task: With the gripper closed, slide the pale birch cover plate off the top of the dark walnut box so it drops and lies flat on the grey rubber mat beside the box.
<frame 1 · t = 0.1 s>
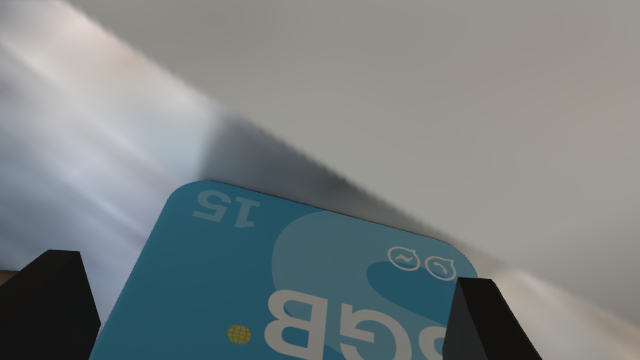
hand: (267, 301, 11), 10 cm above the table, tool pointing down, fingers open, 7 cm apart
data package: (316, 246, 24), on the table
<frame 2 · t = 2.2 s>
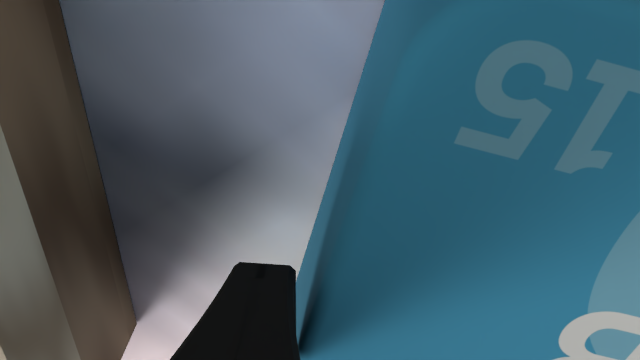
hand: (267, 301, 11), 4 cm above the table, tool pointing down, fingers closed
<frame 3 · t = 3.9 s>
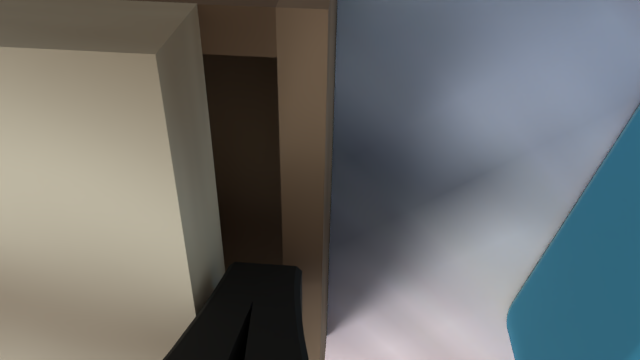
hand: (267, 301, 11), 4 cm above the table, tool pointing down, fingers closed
walnut box: (95, 177, 14), on the table
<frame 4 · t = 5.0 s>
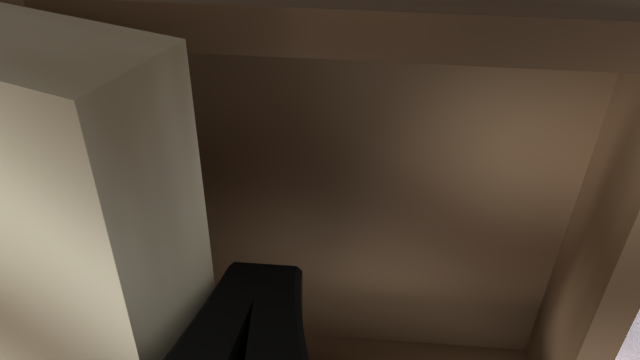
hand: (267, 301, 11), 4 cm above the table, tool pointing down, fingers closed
walnut box: (349, 191, 14), on the table
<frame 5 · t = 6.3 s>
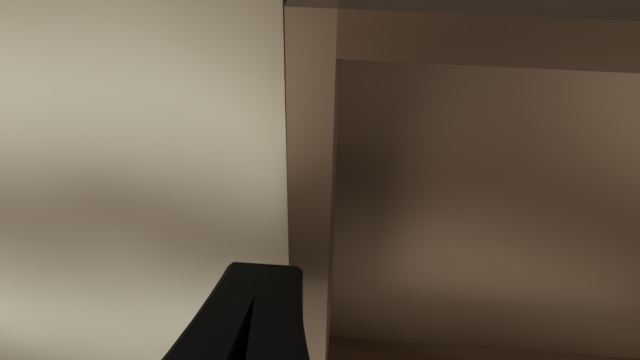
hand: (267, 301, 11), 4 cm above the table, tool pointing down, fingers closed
walnut box: (549, 203, 14), on the table
cover plate: (60, 181, 14), resting on rubber mat
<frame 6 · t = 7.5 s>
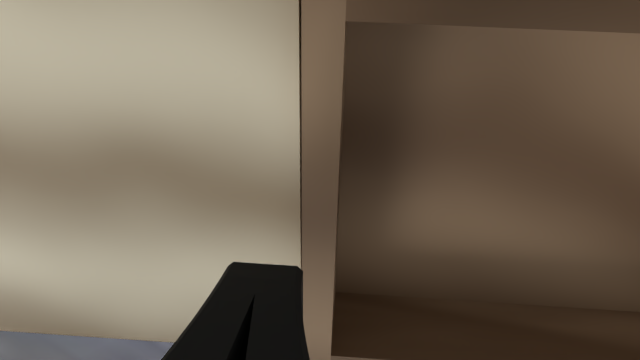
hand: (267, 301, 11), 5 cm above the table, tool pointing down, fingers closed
walnut box: (536, 163, 15), on the table
cover plate: (88, 145, 15), resting on rubber mat
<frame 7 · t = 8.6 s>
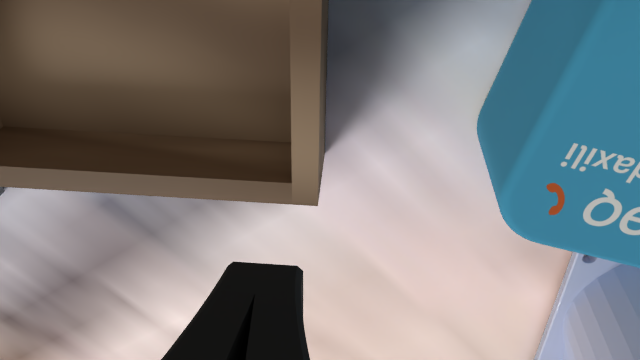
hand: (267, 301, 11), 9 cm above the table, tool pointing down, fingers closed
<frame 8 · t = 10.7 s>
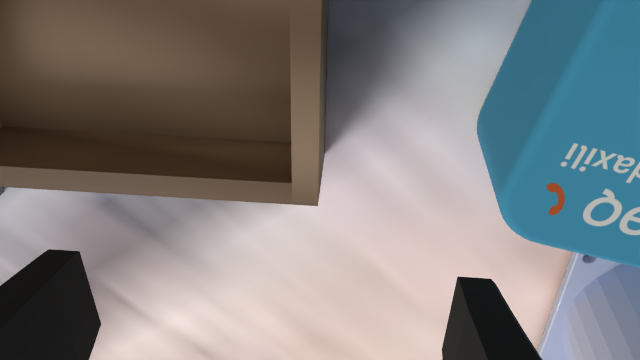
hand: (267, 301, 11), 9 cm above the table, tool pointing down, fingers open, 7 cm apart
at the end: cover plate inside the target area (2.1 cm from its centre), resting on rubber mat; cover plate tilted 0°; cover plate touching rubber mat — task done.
